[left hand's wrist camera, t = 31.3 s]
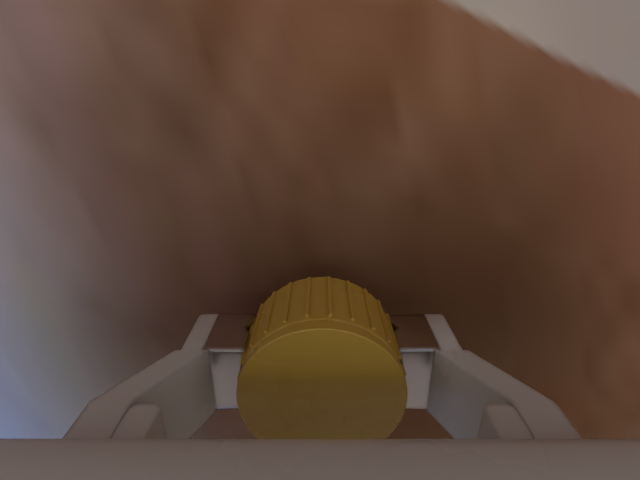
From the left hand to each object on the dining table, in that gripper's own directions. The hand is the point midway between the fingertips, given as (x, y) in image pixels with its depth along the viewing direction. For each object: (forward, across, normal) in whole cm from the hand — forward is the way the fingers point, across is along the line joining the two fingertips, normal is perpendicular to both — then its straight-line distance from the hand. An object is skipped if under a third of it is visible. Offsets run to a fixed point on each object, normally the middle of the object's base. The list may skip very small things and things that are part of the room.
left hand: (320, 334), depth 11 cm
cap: (-2, 0, 0) cm, 2 cm away
